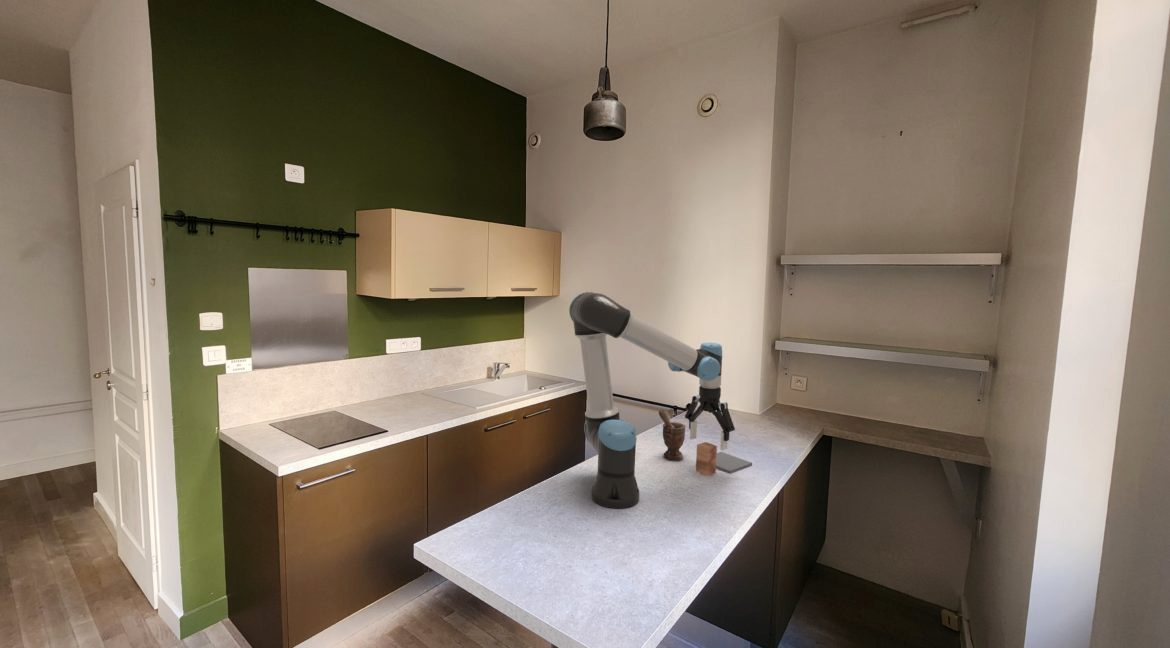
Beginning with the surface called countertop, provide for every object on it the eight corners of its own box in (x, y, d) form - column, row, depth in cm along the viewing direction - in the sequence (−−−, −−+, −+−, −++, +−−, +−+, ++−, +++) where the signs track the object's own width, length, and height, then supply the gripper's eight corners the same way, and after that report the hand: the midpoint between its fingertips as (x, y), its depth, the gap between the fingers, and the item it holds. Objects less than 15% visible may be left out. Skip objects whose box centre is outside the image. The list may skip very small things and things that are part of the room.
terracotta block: (706, 475, 167) (708, 448, 167) (695, 471, 171) (697, 444, 170) (715, 472, 170) (717, 445, 170) (704, 468, 174) (705, 441, 174)
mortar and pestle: (673, 465, 176) (676, 413, 174) (653, 459, 181) (655, 409, 179) (687, 457, 185) (690, 407, 183) (668, 452, 190) (670, 403, 188)
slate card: (729, 473, 170) (729, 471, 170) (698, 461, 181) (698, 458, 181) (752, 465, 178) (752, 462, 178) (721, 454, 189) (721, 451, 189)
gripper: (746, 391, 161) (744, 451, 162) (689, 378, 180) (688, 432, 182) (733, 394, 156) (731, 456, 158) (676, 381, 176) (674, 436, 178)
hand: (708, 443), depth 170 cm, fingers open, 13 cm apart
